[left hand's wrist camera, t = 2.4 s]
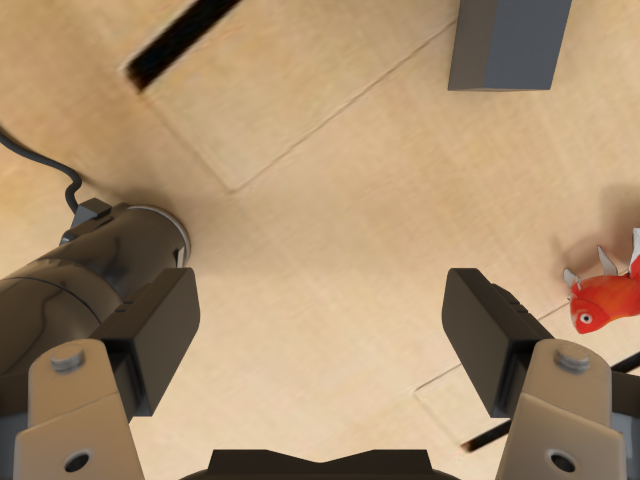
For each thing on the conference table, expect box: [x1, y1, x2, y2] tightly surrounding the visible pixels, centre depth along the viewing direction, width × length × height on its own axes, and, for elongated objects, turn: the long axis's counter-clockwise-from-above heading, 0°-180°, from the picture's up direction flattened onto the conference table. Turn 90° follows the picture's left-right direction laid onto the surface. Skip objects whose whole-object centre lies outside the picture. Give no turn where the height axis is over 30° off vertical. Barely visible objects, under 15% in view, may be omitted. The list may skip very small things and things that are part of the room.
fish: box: [564, 228, 640, 334], centre depth 38 cm, size 11×16×10 cm
